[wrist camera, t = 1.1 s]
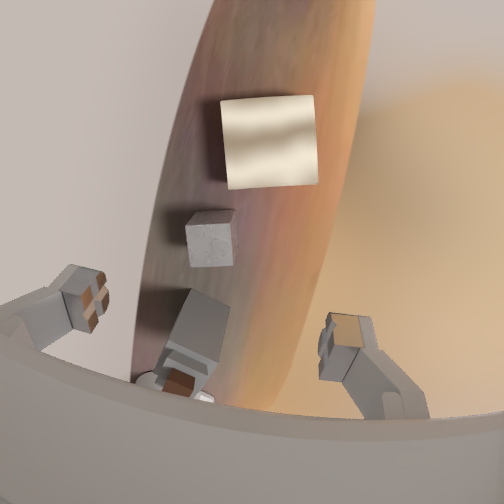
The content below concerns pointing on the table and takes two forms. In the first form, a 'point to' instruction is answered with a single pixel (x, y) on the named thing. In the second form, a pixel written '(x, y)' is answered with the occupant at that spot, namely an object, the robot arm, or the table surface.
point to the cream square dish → (270, 141)
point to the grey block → (212, 238)
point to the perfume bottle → (192, 346)
